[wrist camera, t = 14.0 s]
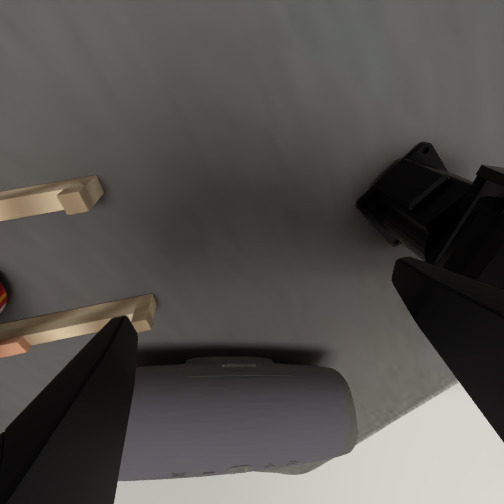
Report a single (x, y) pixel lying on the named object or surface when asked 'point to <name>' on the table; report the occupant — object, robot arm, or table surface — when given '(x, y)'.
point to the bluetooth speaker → (234, 418)
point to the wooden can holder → (77, 320)
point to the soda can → (2, 297)
